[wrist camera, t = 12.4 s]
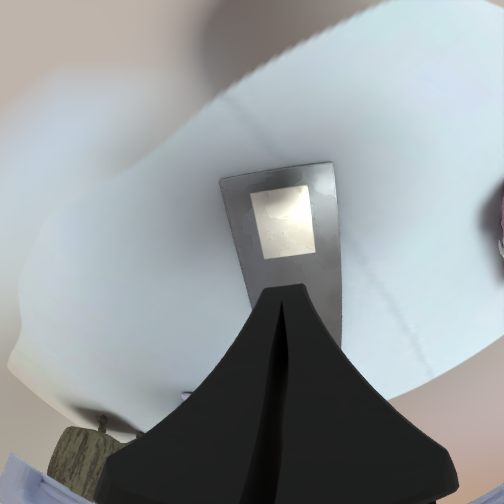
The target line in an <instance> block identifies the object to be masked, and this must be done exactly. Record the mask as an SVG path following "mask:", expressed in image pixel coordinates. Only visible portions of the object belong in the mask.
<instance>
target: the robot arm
mask: <svg viewBox="0 0 504 504" xmlns="http://www.w3.org/2000/svg"><path fill="white" fill-rule="evenodd" d="M181 398H182V399H183V401H184V402H183V403H182V404H181V405H180V406H179V407H177V408H176V409H175V410H174V411H173V412H172V413H170V414H169V415H168V416H167V417H166V418H164V419H163V420H162V421H161V422H159V423H158V424H157V425H156V426H154V427H153V428H152V429H151V430H149V431H148V432H146V433H145V434H144V435H142V436H141V437H139V438H138V439H136V440H135V441H133V442H131V443H130V444H128V445H127V446H125V447H123V448H122V449H120V450H119V451H117V452H115V453H113V454H112V455H110V456H108V457H107V459H106V461H105V464H104V466H103V469H102V472H101V475H100V478H99V481H98V484H97V487H96V490H95V493H94V496H93V500H94V501H95V503H97V504H436V500H438V499H441V498H443V497H445V496H447V495H449V494H452V493H454V492H456V491H457V489H458V488H459V483H458V477H457V473H456V470H455V467H454V464H453V462H452V460H451V457H450V455H449V453H448V451H447V450H446V449H445V448H444V447H442V446H441V445H440V444H438V443H437V442H435V441H434V440H433V439H431V438H430V437H429V436H427V435H426V434H425V433H423V432H422V431H421V430H419V429H418V428H417V427H416V426H414V425H413V424H412V423H411V422H409V421H408V420H407V419H406V418H405V417H404V416H402V415H401V414H400V413H399V412H398V411H397V410H396V409H395V408H394V407H393V406H392V405H391V404H389V403H388V402H387V401H386V400H385V399H384V398H383V397H382V396H381V395H380V394H379V393H378V392H377V391H376V390H375V389H374V388H373V387H372V386H371V385H370V384H369V383H368V381H367V380H366V379H365V378H364V377H363V376H362V375H361V374H360V373H359V371H358V370H357V369H356V368H355V367H354V365H353V364H352V363H351V362H350V361H349V359H348V358H347V357H346V355H345V354H344V353H343V351H342V350H341V349H340V347H339V346H338V345H337V343H336V342H335V340H334V339H333V337H332V336H331V334H330V333H329V331H328V330H327V328H326V327H325V325H324V323H323V322H322V320H321V318H320V317H319V315H318V313H317V311H316V309H315V307H314V305H313V303H312V301H311V299H310V297H309V294H308V292H307V288H306V286H305V285H304V284H303V283H301V284H293V285H285V286H277V287H268V288H264V289H263V290H262V291H261V294H260V296H259V298H258V300H257V302H256V304H255V306H254V308H253V310H252V312H251V314H250V316H249V318H248V319H247V321H246V323H245V324H244V326H243V328H242V330H241V331H240V333H239V335H238V336H237V338H236V339H235V341H234V342H233V344H232V345H231V346H230V348H229V349H228V351H227V352H226V354H225V355H224V357H223V358H222V359H221V361H220V362H219V363H218V364H217V366H216V367H215V368H214V369H213V371H212V372H211V373H210V374H209V375H208V377H207V378H206V379H205V380H204V381H203V382H202V383H201V385H200V386H199V387H198V388H197V389H196V390H195V391H194V392H193V393H192V394H188V393H183V394H182V396H181ZM0 502H1V503H2V504H94V503H92V502H90V501H88V500H86V499H85V498H83V497H81V496H79V495H77V494H75V493H73V492H72V491H70V489H69V488H67V487H66V486H64V485H62V484H61V483H59V482H57V481H56V480H54V479H53V478H51V477H49V476H47V475H45V474H44V473H41V472H40V471H38V470H36V469H35V468H33V467H32V466H30V465H29V464H28V463H26V462H25V461H23V460H22V459H21V458H19V457H18V456H16V455H15V454H14V453H10V456H9V458H8V460H7V463H6V465H5V468H4V470H3V473H2V475H1V478H0ZM468 504H504V483H503V484H501V485H500V486H498V487H497V488H495V489H493V490H492V491H490V492H488V493H487V494H485V495H483V496H481V497H479V498H477V499H476V500H474V501H472V502H470V503H468Z"/></svg>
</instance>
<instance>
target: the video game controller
mask: <svg viewBox="0 0 504 504" xmlns="http://www.w3.org/2000/svg"><path fill="white" fill-rule="evenodd" d="M500 223H501V226H502V229H503V243H502V244H501V242H500V240H499V243H498V244H499V245H498V247H499V251H500V254H501V255H502V256H503V258H504V194H503V201H502V221H501V222H500Z"/></svg>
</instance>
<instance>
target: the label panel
mask: <svg viewBox="0 0 504 504" xmlns="http://www.w3.org/2000/svg"><path fill="white" fill-rule="evenodd" d="M219 184H220V188H221V192H222V195H223V199H224V203H225V207H226V211H227V215H228V219H229V223H230V227H231V231H232V235H233V239H234V243H235V246H236V250H237V254H238V258H239V262H240V266H241V269H242V273H243V277H244V281H245V284H246V288H247V292H248V296H249V299H250V303H251V307H252V310H253V308H254V306H255V304H256V302H257V300H258V298H259V296H260V294H261V291H262V290H263V289H264V288H268V287H277V286H285V285H293V284H301V283H303V284H304V285H305V286H306V288H307V292H308V294H309V297H310V299H311V301H312V303H313V305H314V307H315V309H316V311H317V313H318V315H319V317H320V318H321V320H322V322H323V323H324V325H325V327H326V328H327V330H328V331H329V333H330V334H331V336H332V337H333V339H334V340H335V342H336V343H337V345H338V346H339V347H340V349H341V338H342V278H341V252H340V234H339V220H338V207H337V196H336V187H335V177H334V169H333V163H332V162H322V163H314V164H307V165H299V166H292V167H285V168H279V169H273V170H267V171H261V172H255V173H249V174H244V175H238V176H233V177H228V178H223V179H220V180H219Z"/></svg>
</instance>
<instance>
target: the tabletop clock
mask: <svg viewBox="0 0 504 504" xmlns="http://www.w3.org/2000/svg"><path fill="white" fill-rule="evenodd" d="M98 421H99V423H100V427H99V428H98V431H96V430H92V429H86V428H80V427H73V426H71V427H67V428H66V429H65V431H64V432H63V434H62V435H61V437H60V439H59V441H58V443H57V445H56V448H55V450H54V452H53V455H52V457H51V460H50V463H49V466H48V471H47V475H48V476H49V477H51V478H53V479H54V480H56V481H57V482H59V483H61V484H62V485H64V486H66V487H67V488H69V489H70V491H72V492H73V493H75V494H77V495H79V496H81V497H83V498H85V499H86V500H88V501H90V502H92V503H94V504H97V503H95V501H94V500H93V496H94V493H95V490H96V487H97V484H98V481H99V478H100V475H101V472H102V469H103V466H104V464H105V461H106V459H107V457H108V456H110V455H112V454H113V453H115V452H117V451H119V450H120V449H122V448H123V447H125V446H127V445H128V444H130V443H131V442H133V441H135V440H136V439H138V438H139V437H141V436H142V435H144V434H143V433H139V434H137V436H136V439H134V440H132V441H130V442H127V443H120V442H119V441H117V440H116V439H114V438H113V437H111V436H110V435H108V434H105V433H106V429H105V427H103V425H104V424H106V423H107V419H106V417H104V416H100V417H99V418H98Z"/></svg>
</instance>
